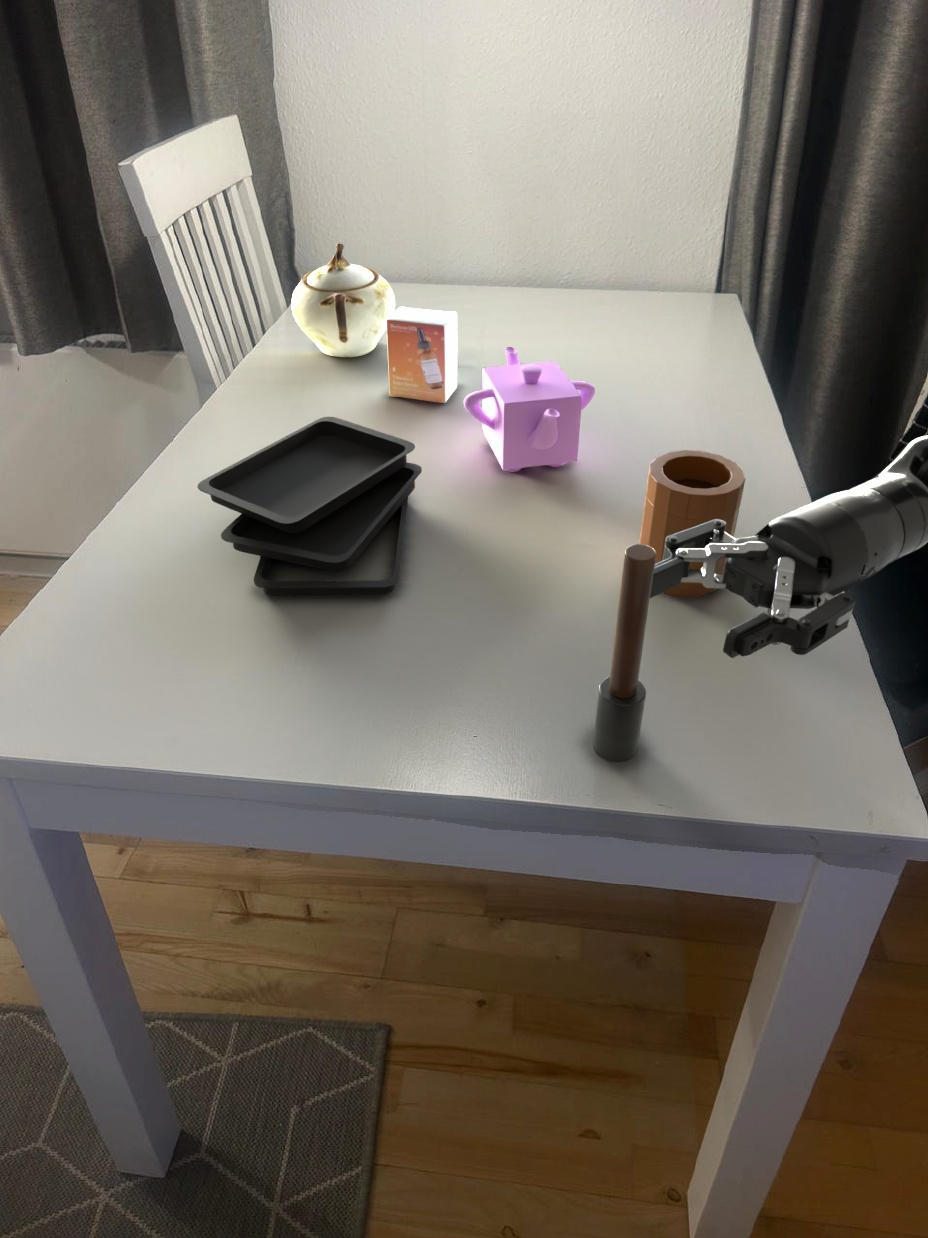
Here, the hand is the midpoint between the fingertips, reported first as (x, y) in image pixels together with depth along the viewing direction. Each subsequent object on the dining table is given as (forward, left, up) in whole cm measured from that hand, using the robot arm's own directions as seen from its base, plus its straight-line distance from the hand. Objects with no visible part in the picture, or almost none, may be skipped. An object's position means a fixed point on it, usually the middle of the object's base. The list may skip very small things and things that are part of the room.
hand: (684, 614), depth 66 cm
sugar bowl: (+13, -86, -11) cm, 87 cm away
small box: (+5, -67, -11) cm, 68 cm away
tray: (+23, -37, -11) cm, 45 cm away
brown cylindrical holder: (-10, -19, -11) cm, 24 cm away
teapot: (-3, -46, -11) cm, 47 cm away
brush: (+5, +2, -11) cm, 12 cm away
